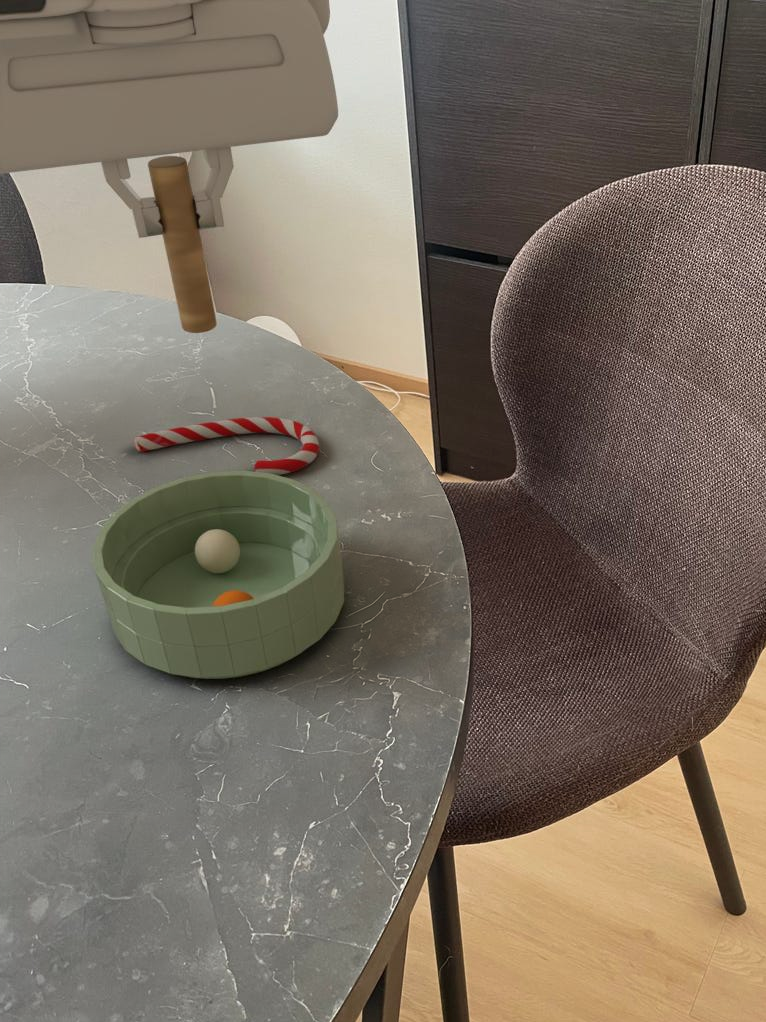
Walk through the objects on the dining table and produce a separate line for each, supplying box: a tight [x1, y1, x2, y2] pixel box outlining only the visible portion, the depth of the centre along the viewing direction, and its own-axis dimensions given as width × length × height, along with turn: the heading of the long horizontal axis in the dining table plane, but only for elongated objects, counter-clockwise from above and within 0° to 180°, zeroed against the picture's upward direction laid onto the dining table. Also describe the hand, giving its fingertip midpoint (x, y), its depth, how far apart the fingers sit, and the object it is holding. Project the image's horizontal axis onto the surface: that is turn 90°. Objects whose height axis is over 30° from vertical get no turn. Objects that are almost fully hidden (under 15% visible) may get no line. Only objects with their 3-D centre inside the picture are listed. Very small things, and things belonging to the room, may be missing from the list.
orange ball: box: [213, 590, 254, 607], centre depth 66 cm, size 3×3×3 cm
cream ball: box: [195, 529, 240, 573], centre depth 71 cm, size 3×3×3 cm
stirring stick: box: [147, 155, 218, 334], centre depth 63 cm, size 2×2×10 cm
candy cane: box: [133, 416, 320, 476], centre depth 84 cm, size 8×1×15 cm
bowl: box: [91, 470, 345, 680], centre depth 68 cm, size 15×15×6 cm
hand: (180, 229), depth 63 cm, fingers closed on stirring stick, 2 cm apart
